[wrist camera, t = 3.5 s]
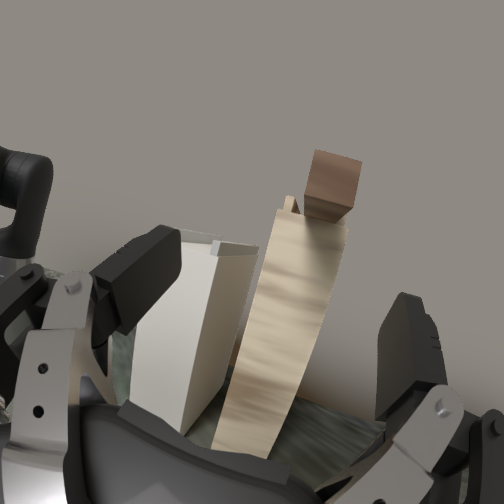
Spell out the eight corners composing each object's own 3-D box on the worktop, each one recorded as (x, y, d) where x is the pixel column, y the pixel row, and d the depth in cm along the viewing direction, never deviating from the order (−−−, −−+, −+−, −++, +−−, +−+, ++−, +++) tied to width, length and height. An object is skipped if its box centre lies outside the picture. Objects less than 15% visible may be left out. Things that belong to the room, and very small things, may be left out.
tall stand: (258, 473, 26) (352, 212, 24) (208, 456, 28) (281, 194, 26) (279, 403, 46) (335, 229, 44) (244, 392, 47) (295, 219, 45)
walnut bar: (352, 208, 15) (362, 161, 15) (304, 194, 16) (315, 149, 15) (321, 234, 43) (326, 216, 42) (303, 229, 43) (308, 212, 43)
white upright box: (177, 443, 28) (222, 242, 27) (128, 417, 30) (156, 224, 29) (222, 384, 48) (260, 246, 47) (186, 370, 50) (217, 235, 48)
